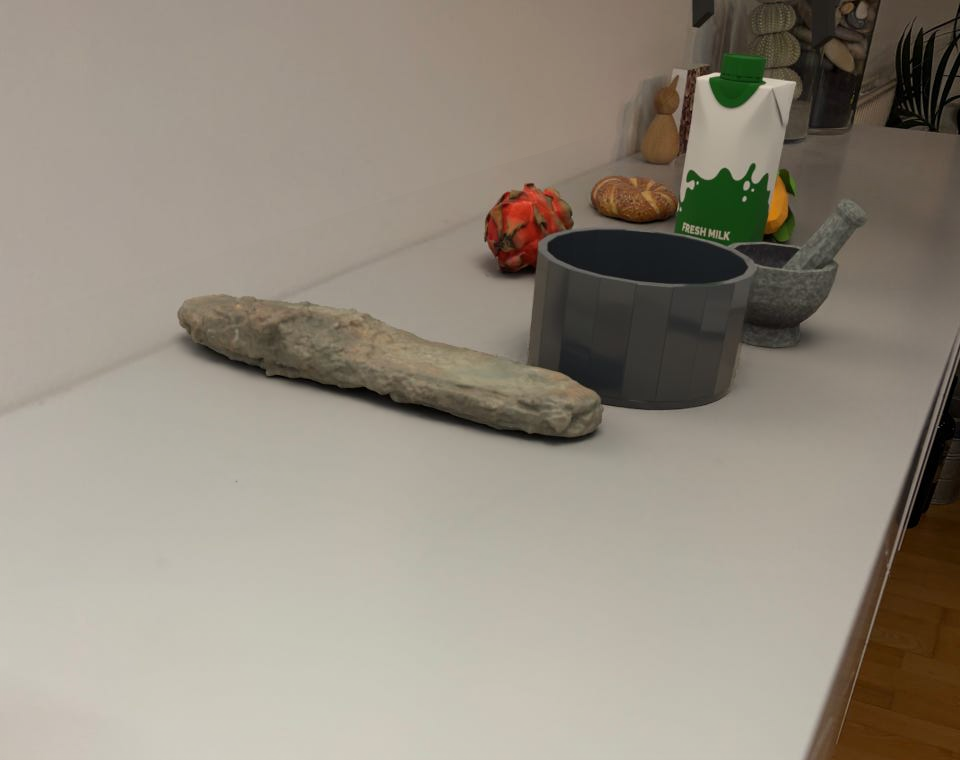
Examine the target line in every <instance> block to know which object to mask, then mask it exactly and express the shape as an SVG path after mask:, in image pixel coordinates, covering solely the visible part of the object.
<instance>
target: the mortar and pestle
mask: <svg viewBox="0 0 960 760" xmlns="http://www.w3.org/2000/svg"><path fill="white" fill-rule="evenodd" d="M867 221H868V216H867V214H866V212H865V211H864V209H863V208H862V207H861V206H860V205H859V204H858V203H856V202H854V201H852V200H851V199H849V198H842V199H841V200H840V201H839V202H838V203H837V204H836V207H835V211H834V212H833V213H832V214H831V215H830V216H829V217H828V218H827V219H826V221H825V222H824V223H823V224H822V225H821V226H820V227H819V228H818V229H817V230H816V232H814V233H813V235H812V236H811V237H809V239H808V240H807V241H806V242H805V243H804V244H803V245H802V246H798V245H792V244H785V243H775V242H768V241H762V242H745V243H733V244H731V245H729V246H727V247H730V248H733V249H736V250H738V251H739V252H741V253H743V254H744V255H746V256H748V257H749V258H751V259H752V260H753V261H754V263H755V265H756V267H757V268H758V270H757V275H756V280H755V285H754V289H753V294H752V299H751V304H750V309H749V314H748V319H747V323H746V328H745V333H744V338H743V343H746V344H748V345H750V346H751V345H752V346H757V347H765V348H773V349H777V348H786V347H787V348H788V347H793V346H794V345H795V344H797V342H799V340H800V335H801V324H802V323H803V322H805V321H806V320H808V319H809V318H810V317H811V316H813V315H814V314H815V313H816V312H817V311H818V310H819V309H820V308H821V306H822V305H823V304H824V302H826V300H827V299H828V298H829V295H830V292H831V290H832V288H833V285H834V283H835V280H836V276H837V274H838V273H837V272H838V269H839V265H840V263H838V262H837V261H836V260H835V259H834V258H835V257H836V256H837V254H838V253H839V252H840V251H841V250H842V248H843V247H844V245H846V243H847V241H849V239H850V238H851V236H852V235H853V234H854V232H855V231H856V230H857V229H859V228H862V227H863V226H865V224H866V223H867Z"/></svg>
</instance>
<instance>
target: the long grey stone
mask: <svg viewBox="0 0 960 760" xmlns="http://www.w3.org/2000/svg"><path fill="white" fill-rule="evenodd" d="M177 319H178V325H179V327H181V328H182V329H184V330H186V333H187V337H188V339H189V340H192V341H193V342H194V343H196V344H201V345H203V346H206V347H208V348H209V349H211V350H213V351H214V352H216V353H218V354H221V355H223V356H224V357H227V358H228V359H229V360H231V361H238V362H240V363H241V362H243V363H245V364H247V365H249V366H257V367H259V368H260V369H261V370H265V375H266V376H267V377H273V376H276V375H277V376H283V377H285V378H290V379H297V378H302V379H309V380H312V381H314V382H318V383H320V384H323V385H334V386H337V387H338V388H340V389H348V388H350V389H355V388H362V387H365V388H366V389H368V390H369V391H373V392H376V393H378V394H379V395H381V396H384V395H389V397H390V399H391V400H392V401H394V402H395V403H400V404H401V403H402V404H414V405H423V406H424V407H429V408H433V409H435V410H439V411H442V412H446V413H449V414H451V415H452V416H454V417H455V416H456V417H458V418H460V419H464V420H465V419H466V420H469V421H471V422H474V423H477V424H483V425H487V426H488V427H490V428H491V427H492V428H493V429H496V430H498V431H503V430H507V431H522V432H525V433H527V434H529V435H531V434H540V435H543V436H551V437H563V438H575V437H581V436H586V435H587V434H592V433H593V432H594V431H595V430H597V429H598V428H599V426H600V425H601V424H602V422H603V413H604V411H605V407H604V405H603V404H602V403H601V398H600V396H599V395H597V393H596V392H595V391H593V390H591V389H588V388H586V387H584V386H582V385H580V384H579V383H578V382H577V381H574V380H572V379H571V378H570V377H568V376H566V375H564V374H562V373H560V372H556V371H551V370H548V369H544V368H540V367H532V366H528V364H524V363H520V362H517V361H514V360H511V359H508V358H502V357H499V356H497V355H494V354H489V353H486V352H482V351H477V350H474V349H470V348H467V347H459V346H456V345H452V344H448V343H444V342H438V341H432V340H428V339H424V338H422V337H421V336H418V335H417V334H414V333H412V332H410V331H408V330H404V329H400V328H397V327H395V326H392V325H390V324H387V322H384V321H382V320H381V319H377V318H375V317H373V316H372V315H371V314H369V313H367V312H361V311H358V310H357V309H356V308H353V307H352V308H344V307H340V308H335V307H332V306H327V305H320V304H317V303H315V304H314V303H312V302H310V301H308V300H304V301H300V302H289V301H282V300H276V299H275V300H273V299H261V298H257V297H255V296H250V295H242V296H240V297H237V296H233V295H229V294H225V293H219V294H209V295H208V294H207V295H198V296H194V297H190V298H187V299H185V300H184V301H183V303H182V304H181V306H180V307H179V308H178V310H177Z"/></svg>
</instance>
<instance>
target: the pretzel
mask: <svg viewBox="0 0 960 760" xmlns="http://www.w3.org/2000/svg"><path fill="white" fill-rule="evenodd" d="M590 202H591V204H592V207H594V208H596V209H597V208H598V209H597V211H598V212H599V213H601V214H603V215H604V216H607V217H610V218H617V219H618V218H619V219H622V220H623V221H626V222H635V223H645V222H652V221H654V220H658V221H660V220H663V221H664V220H667V219H669V218H670V217H671V216H672V215H674V214H675V213H677V209H678V202H679V197H678V196H677V194H676V193H675V192H674V191H673V190H670V188H669V187H668V186H667V185H665V184H663V183H660V182H655V181H654V179H651V178H649V177H643V176H634V177H627V176H624V175H615V174H614V175H609V176H604V177H603V178H601V179H600V180H598V181H597V182H595V184H594V186H593V187H592V189H591V191H590Z"/></svg>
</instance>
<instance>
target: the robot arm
mask: <svg viewBox="0 0 960 760" xmlns="http://www.w3.org/2000/svg"><path fill="white" fill-rule="evenodd" d="M841 1H842V0H811V50H814V51H815V50H816V51H819V50H821V48H823V47H824V46H826V45H827V44H828V43H829V42H831V41H832V40H833V39H835V38H836V10H838V8H839V7H840V4H841ZM691 13H692V14H691V24H692V26H691V27H692V28H697V29H700V28H701V27H702V26H703V25H705V24H706V23H707V21H709V20H710V19H711V17H713V16H714V15H715V0H691Z"/></svg>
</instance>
